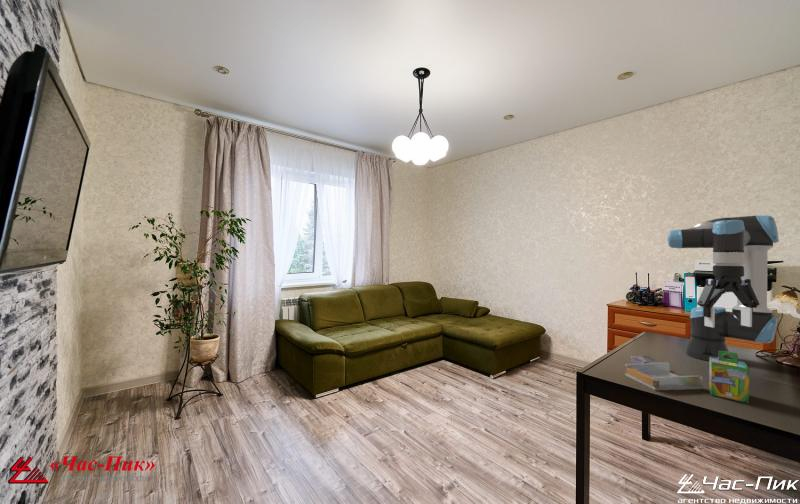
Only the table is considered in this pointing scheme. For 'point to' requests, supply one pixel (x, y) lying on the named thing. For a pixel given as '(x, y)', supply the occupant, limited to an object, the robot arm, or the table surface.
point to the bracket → (661, 377)
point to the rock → (643, 359)
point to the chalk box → (729, 377)
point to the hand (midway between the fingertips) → (727, 326)
